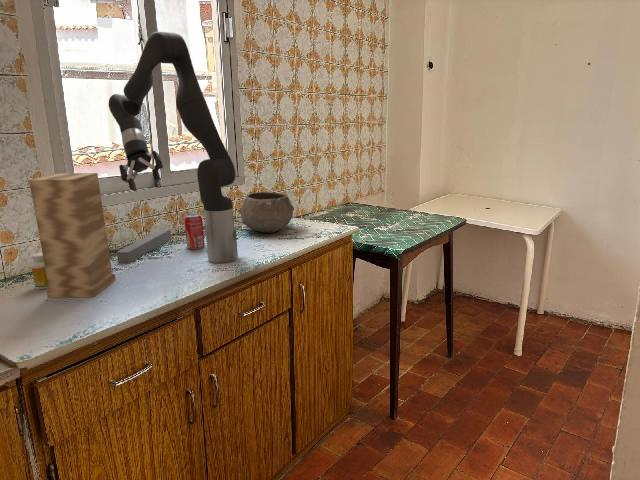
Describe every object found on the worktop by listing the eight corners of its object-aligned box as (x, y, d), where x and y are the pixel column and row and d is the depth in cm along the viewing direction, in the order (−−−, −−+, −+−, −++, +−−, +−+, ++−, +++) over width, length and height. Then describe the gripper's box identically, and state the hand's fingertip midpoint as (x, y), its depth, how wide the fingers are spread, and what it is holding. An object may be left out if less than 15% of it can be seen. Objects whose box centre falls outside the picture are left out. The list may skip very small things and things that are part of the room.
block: (171, 239, 189) (170, 229, 188) (129, 264, 161) (127, 252, 160) (161, 239, 190) (160, 229, 189) (118, 263, 161) (116, 252, 160)
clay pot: (266, 222, 210) (264, 188, 206) (304, 229, 199) (303, 192, 195) (230, 233, 194) (227, 196, 190) (269, 241, 182) (267, 201, 178)
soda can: (192, 251, 172) (188, 218, 169) (183, 247, 177) (180, 215, 173) (207, 247, 176) (205, 215, 173) (199, 244, 181) (196, 212, 177)
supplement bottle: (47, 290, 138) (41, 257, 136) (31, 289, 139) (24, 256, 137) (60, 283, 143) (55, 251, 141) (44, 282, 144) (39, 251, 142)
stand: (115, 280, 145) (99, 172, 136) (94, 297, 132) (75, 179, 124) (72, 280, 145) (54, 173, 137) (47, 297, 133) (25, 180, 124)
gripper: (110, 148, 165) (120, 189, 161) (147, 132, 164) (159, 173, 159) (122, 157, 172) (132, 197, 168) (159, 141, 171) (170, 181, 166)
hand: (145, 185), depth 164 cm, fingers open, 8 cm apart
